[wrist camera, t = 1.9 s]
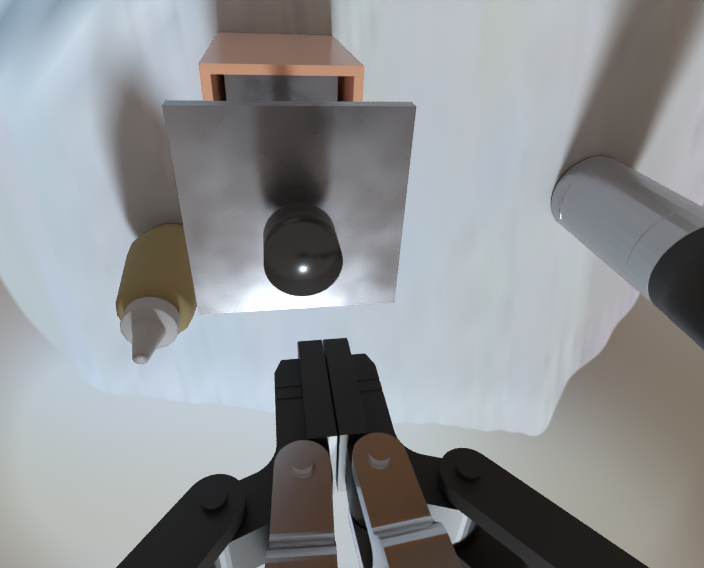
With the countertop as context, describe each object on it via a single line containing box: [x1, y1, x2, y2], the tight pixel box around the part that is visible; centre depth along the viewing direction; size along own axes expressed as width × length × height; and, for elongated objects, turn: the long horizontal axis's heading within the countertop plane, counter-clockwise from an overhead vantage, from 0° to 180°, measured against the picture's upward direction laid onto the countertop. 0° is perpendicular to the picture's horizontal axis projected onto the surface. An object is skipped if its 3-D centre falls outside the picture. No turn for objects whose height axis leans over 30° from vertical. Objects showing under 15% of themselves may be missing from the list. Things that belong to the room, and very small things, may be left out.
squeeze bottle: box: [116, 223, 197, 364], centre depth 44 cm, size 8×8×18 cm
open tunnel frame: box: [199, 32, 364, 102], centre depth 38 cm, size 10×10×16 cm
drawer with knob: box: [162, 74, 416, 315], centre depth 27 cm, size 10×10×20 cm
